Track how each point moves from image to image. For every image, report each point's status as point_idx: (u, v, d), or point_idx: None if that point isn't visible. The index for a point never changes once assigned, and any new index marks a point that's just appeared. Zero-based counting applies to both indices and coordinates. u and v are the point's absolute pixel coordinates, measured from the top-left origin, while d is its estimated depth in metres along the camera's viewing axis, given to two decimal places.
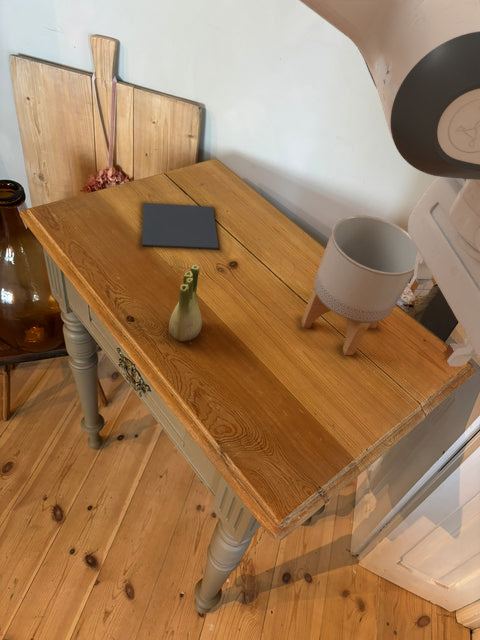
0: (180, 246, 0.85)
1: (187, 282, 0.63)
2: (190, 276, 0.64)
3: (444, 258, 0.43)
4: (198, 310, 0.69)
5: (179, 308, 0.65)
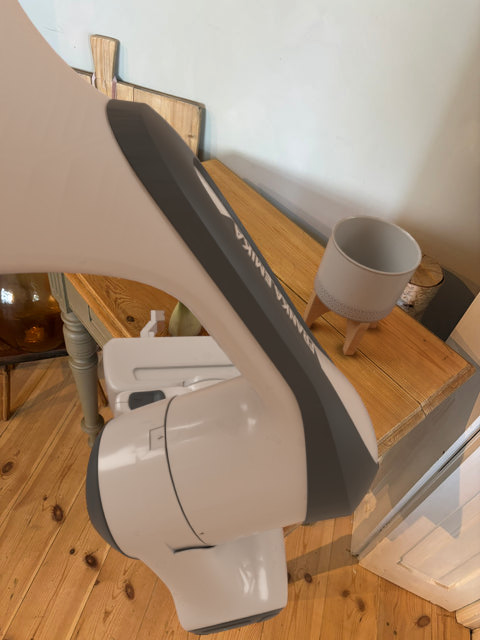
0: None
1: None
2: None
3: None
4: None
5: (179, 308, 0.65)
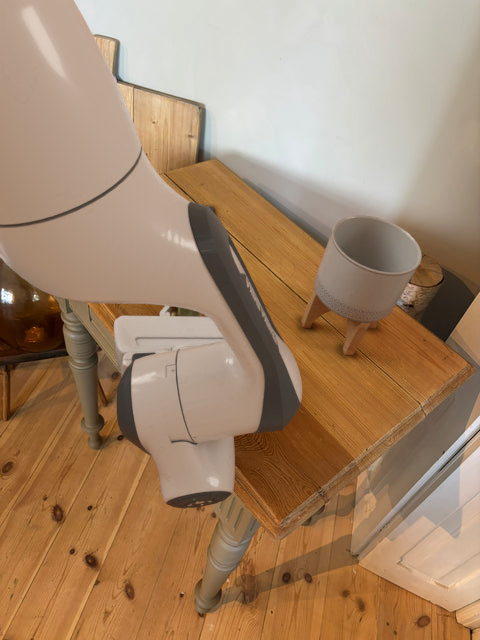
0: None
1: None
2: None
3: (204, 329, 0.62)
4: None
5: (179, 308, 0.65)
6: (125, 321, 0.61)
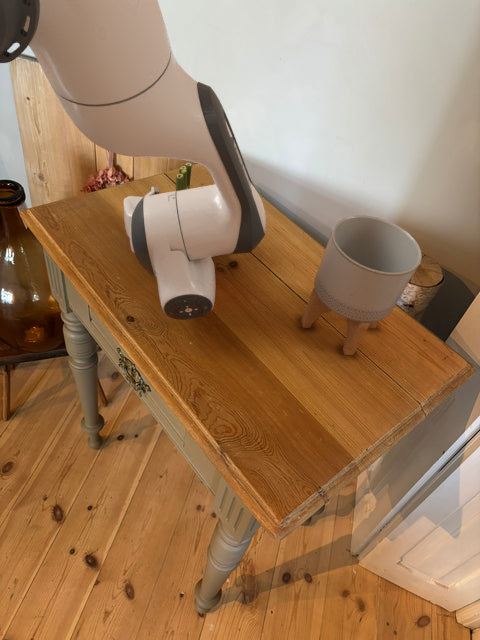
0: None
1: (182, 172, 0.80)
2: (184, 169, 0.81)
3: None
4: None
5: None
6: (132, 199, 0.78)
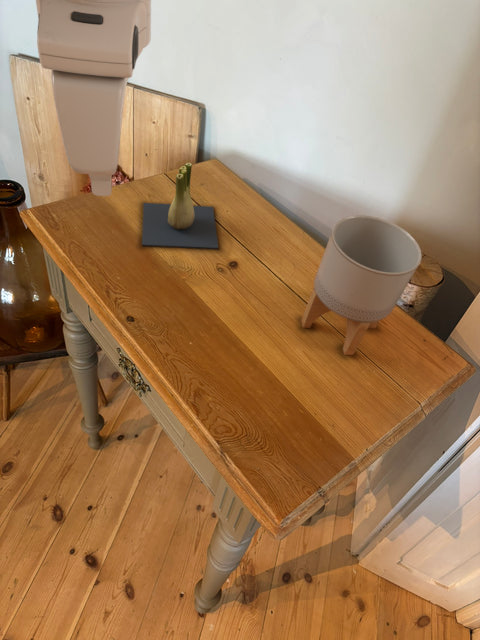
0: (180, 246, 0.85)
1: (182, 172, 0.80)
2: (184, 169, 0.81)
3: None
4: (191, 203, 0.86)
5: (176, 196, 0.82)
6: None
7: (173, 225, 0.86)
